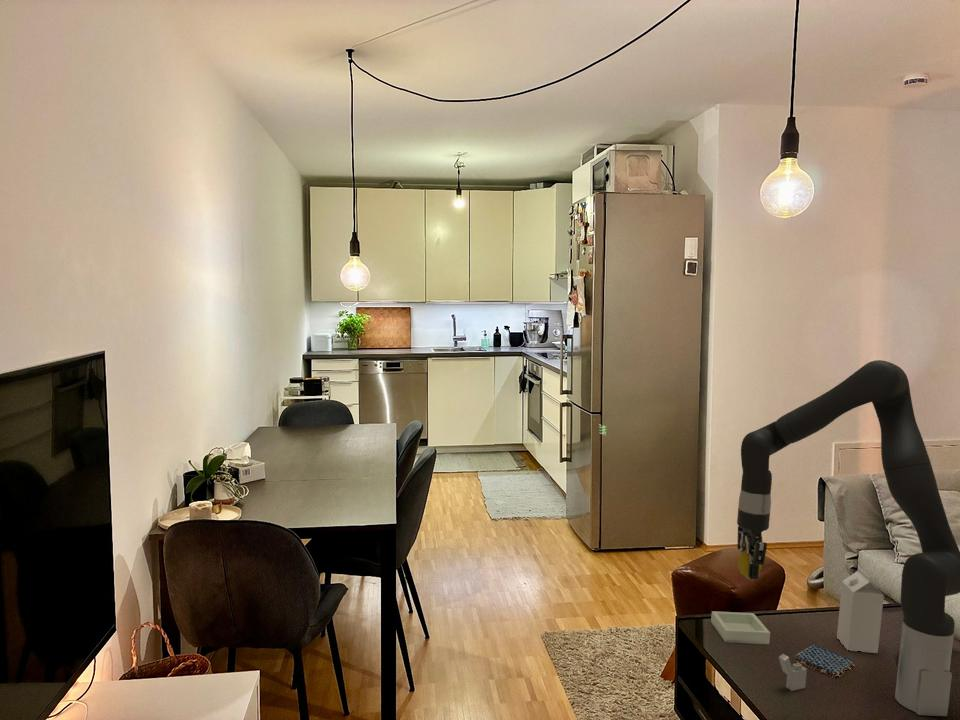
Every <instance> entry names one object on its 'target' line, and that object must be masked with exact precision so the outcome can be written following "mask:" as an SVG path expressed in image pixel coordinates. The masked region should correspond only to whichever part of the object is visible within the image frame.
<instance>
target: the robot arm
mask: <svg viewBox="0 0 960 720" xmlns="http://www.w3.org/2000/svg"><path fill="white" fill-rule="evenodd" d="M910 387H911V386H910V382H909V378H908V375H907V373H906V372H905V371H904V370H903V369H902V368H901V367H900V366H898V365H896V364H895V363H892V362H890V361H886V360H881V359H879V360H873V361H870V362H867V363H866V364H864V365H863V366H861V367H860V368H859V369H857V370H856V371H854V372H853V373H852V374H851V375H850V376H849V375H848V377H847V378H845V379H844V380H843V381H842V382H840V383H838V384H837V385H835V386H834V387H833V388H830V390H828V391H826V392H824V393H822V394H821V395H820V396H817V397H816V398H814V399H812V400H810V401H808V402H806V403H804V404H803V405H800V406H797V408H795V409H793V410H791V411H789V412H787V413H785V414H784V415H782V416H780V417H779V418H778V419H776V420H775V421H773V422H770V423H768V424H767V425H764V426H763V427H760V428H758V429H756V430H753V431H750V432H749V433H747V434H746V435H745V436H744V437H743V439H742V441H741V445H740V457H741V458H740V459H741V467H742V476H741V485H740V493H739V498H738V507H737V520H736V524H737V550H739V554H741V553H742V552H743V551H745V550H747V554H748V555H749V562H750V563H749V573H748V577H749V578H750V579H749V580H758V579H759V574H760V572H759V565H761V566H762V565H763V566H764V565H765V559H766V553H767V546H768V544H767V542H764V541H763V537H762V536H763V535H762V533H763V532H764V531H768V529H769V527H770V520H771V508H772V496H771V494H772V484H773V483H772V482H773V475H772V472H771V470H770V469H769V468H770V456H772V455H774V454H776V453H777V452H779V451H781V450H783V449H785V448H786V447H788V446H790V445H791V444H795V443H798V442H799V441H802V440H803V439H806V438H808V437H810V436H811V435H813V434H816V433H817V432H819V431H821V430H822V429H824V428H826V427H827V426H829V425H830V424H832V423H833V422H834V421H835V420H836V419H837V418H839V417H841V416H842V415H844V414H845V413H848V412H849V411H851V410H854V409H856V408H859V407H861V406H864V405H866V404H870V403H872V405H873V408H874V411H875V414H876V417H877V420H878V424H879V428H880V447H881V448H880V454H881V462H882V463H881V464H882V468H883V471H884V473H883V474H884V475H885V480H886V483H887V486H888V489H889V492H890V495H891V496H892V498H893V499H894V501H895V503H896V504H897V506H899V508H900V509H901V511H902V512H903V513H904V514H905V515H906V517H907V518H908V519H909V521H910V522H911V524H912V525H913V527H914V528H915V529H914V530H915V531H916V535H917V536H918V540H919V544H920V548H921V551H922V552H918V553H914V554H912V555H910V556H909V557H908V558H907V559H906V560H905V562H904V564H903V567H902V571H901V584H900V585H901V586H900V588H901V589H900V608H901V611H902V613H903V614H902V618H903V619H902V628H901V637H900V645H899V654H898V655H899V656H898V666H897V673H896V682H895V683H896V684H895V693H894V698H895V700H896V702H898V703H899V704H900V706H901V705H902V707H904V708H905V709H907V710H909V711H912V712H914V713H915V714H917V715H918V716H931V717H933V716H934V717H935V716H936V717H948V714H949V713H948V712H949V704H950V695H951V694H950V693H951V685H952V676H953V673H952V672H951V671H950V669H951V660H952V652H953V651H952V650H953V645H954V644H953V643H954V635H955V625H956V624H955V620H954V618H953V616H951V614H949V613H947V612H945V610H946V609H945V607H946V597H949V596H954V595H957V594H959V593H960V548H959V546H958V543H957V542H956V539H955V536H954V534H953V532H952V529H951V526H950V523H949V520H948V518H947V514H946V511H945V508H944V504H943V501H942V498H941V495H940V491H939V489H938V483H937V480H936V476H935V473H934V470H933V466H932V462H931V459H930V456H929V454H928V451H927V448H926V444H925V441H924V439H923V436H922V432H921V431H920V429H919V426H918V424H917V423H918V422H917V421H916V420H917V419H916V416H915V413H914V407H913V406H914V405H913V402H912V400H913V399H912V395H911V388H910ZM751 550H754V551H751ZM758 573H759V574H758Z"/></svg>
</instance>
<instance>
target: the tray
mask: <svg viewBox="0 0 960 720" xmlns="http://www.w3.org/2000/svg"><path fill="white" fill-rule="evenodd" d="M710 617H711V619H710V623H711V624H712V626H713V627H714V629H715V630H716V632H717V633H718V634H719V636H720V637H721V639H722V640H723V641H724V643H732V644H734V643H735V644H751V645H752V644H754V645H755V644H756V645H770V643H771V642H770V640H771V631H770V630H769V629H768V628H767V627H766V626H765V625H764V624H763V622H762V621H761V620H760V619H759V618H758V616H757V615H756V614H755V613H754V612H753V613H751V612H731V611H712V610H711V616H710Z"/></svg>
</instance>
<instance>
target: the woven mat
mask: <svg viewBox="0 0 960 720" xmlns="http://www.w3.org/2000/svg"><path fill="white" fill-rule="evenodd" d="M795 661H796V662H795ZM794 662H795V663H801V664H802V666H804V665H805V666H804V667H806V666H808V667H807V668H809V667H811V668H815V669H817V670H819V671H821V672H822V673H821V672H820V673H821V674H823V673H826V674H829V672H830V674H829V676H828V677H830V676H831V675H832V674H833V675H832V676H834V677H836V676H839V677H838V678H840V677H841V676H840V675H839V674H840V673H843V674H842V675H844V674H845V673H846V671H845V670H847V671H850V670H852V669H851V668H852V667H851V666H854V667H853V668H855V663H854V660H853V659H851V658H850V657H848V658H847V657H844V655H842V654H841V655H839V654H837V652H833V651H831V650H830V649H824V647H823V646H820V647H819V646H817V644H815V643H814V644H813V645H809V647H807V648H805V649H803V650H801V652H798V653H797V654H795V656H794ZM807 664H809V665H807ZM850 667H851V668H850ZM811 668H810V669H811ZM818 668H820V669H818ZM848 669H849V670H848ZM827 670H828V671H827ZM843 671H844V672H845V673H844V672H843Z"/></svg>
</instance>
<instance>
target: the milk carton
mask: <svg viewBox="0 0 960 720" xmlns="http://www.w3.org/2000/svg"><path fill="white" fill-rule="evenodd" d="M871 579H872V578H871V576H869V574H867V572H865V571H864V570H862V568H861V567H859V566H857V570H856V571H855V572H854V573H852V574H850V575H849V576H848V577H846V578H844V579H843V580H842V581H841V590H840V591H841V593H840V601H839V610H838V611H839V612H838V620H837V621H838V623H837V631H836V633H837V634H836V638H837V640H838V639H839V640H840V641H839V640H838V641H839V642H840V643H841V644H842V646H843V645H844V646H843V647H844V648H845V649H846V651H848V650H849V651H850V652H857V651H861V652H860V653H870V654H871V653H872V654H878V653H879V643H880V635H881V625H882V615H883V605H884V596H885V594H883V592H882V591H880V590H879V589H878V588H877V586H875V585H874V584H873V583H872V582H871Z"/></svg>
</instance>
